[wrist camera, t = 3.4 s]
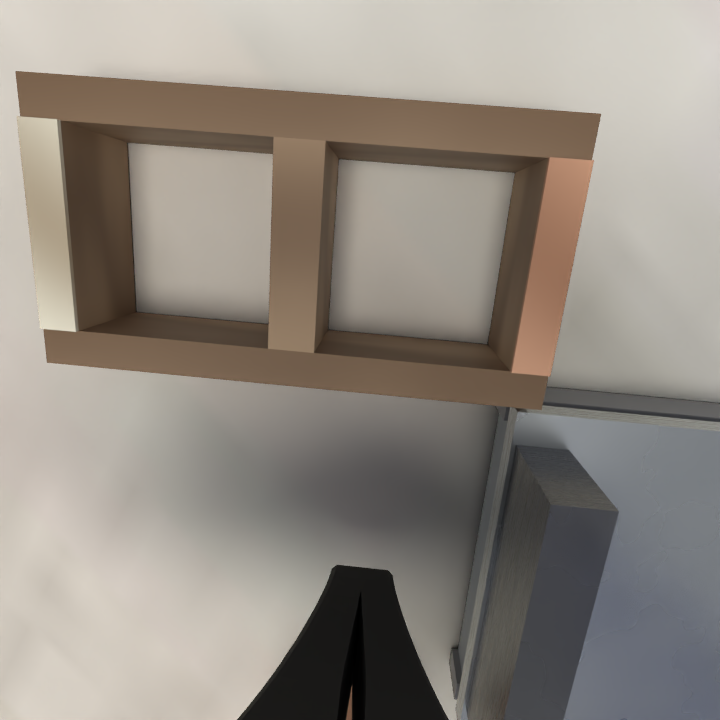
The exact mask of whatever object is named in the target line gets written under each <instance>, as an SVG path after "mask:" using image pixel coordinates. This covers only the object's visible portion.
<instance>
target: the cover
mask: <svg viewBox="0 0 720 720" xmlns="http://www.w3.org/2000/svg"><path fill="white" fill-rule="evenodd" d="M456 716H457V720H720V422H711V421H701V420H690V419H680V418H670V417H659V416H649V415H639V414H628V413H618V412H607V411H597V410H587V409H576V408H566V407H555V406H545V405H543V406H542V410H534V409H523V408H513V407H510V410H509V416H508V421H507V427H506V432H505V438H504V443H503V449H502V455H501V460H500V466H499V471H498V477H497V482H496V488H495V493H494V499H493V504H492V510H491V515H490V521H489V527H488V532H487V538H486V543H485V549H484V554H483V560H482V565H481V571H480V576H479V582H478V587H477V593H476V599H475V604H474V610H473V615H472V621H471V626H470V632H469V637H468V643H467V648H466V654H465V659H464V665H463V671H462V676H461V682H460V687H459V693H458V698H457V704H456Z"/></svg>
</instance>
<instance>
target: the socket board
mask: <svg viewBox="0 0 720 720" xmlns="http://www.w3.org/2000/svg"><path fill="white" fill-rule="evenodd" d="M16 80H17V89H18V99H19V108H20V116H17V124H18V133H19V142H20V151H21V161H22V170H23V179H24V188H25V197H26V206H27V215H28V224H29V233H30V242H31V251H32V260H33V269H34V278H35V287H36V296H37V305H38V314H39V323H40V329H44V338H45V347H46V357H47V363H58V364H68V365H78V366H89V367H99V368H109V369H120V370H130V371H140V372H151V373H161V374H171V375H182V376H192V377H202V378H213V379H223V380H234V381H244V382H254V383H265V384H275V385H285V386H296V387H306V388H316V389H327V390H337V391H347V392H358V393H368V394H379V395H389V396H399V397H410V398H420V399H430V400H441V401H451V402H461V403H472V404H482V405H492V406H503V407H513V408H523V409H534V410H542V406H543V401H544V396H545V391H546V386H547V381H548V376H550V375H551V370H552V365H553V360H554V355H555V350H556V345H557V340H558V335H559V330H560V325H561V321H562V316H563V311H564V306H565V301H566V296H567V291H568V286H569V281H570V276H571V271H572V266H573V261H574V256H575V251H576V246H577V241H578V236H579V231H580V226H581V222H582V217H583V212H584V207H585V202H586V197H587V192H588V187H589V182H590V177H591V172H592V167H593V162H594V160H592V157H593V152H594V147H595V142H596V137H597V132H598V127H599V122H600V117H601V114H596V113H582V112H568V111H555V110H541V109H527V108H514V107H500V106H486V105H473V104H459V103H445V102H431V101H418V100H404V99H390V98H377V97H363V96H349V95H336V94H322V93H308V92H294V91H281V90H267V89H253V88H240V87H226V86H212V85H199V84H185V83H171V82H157V81H144V80H130V79H116V78H103V77H89V76H75V75H62V74H48V73H34V72H21V71H16ZM127 142H128V143H141V144H154V145H167V146H180V147H192V148H205V149H218V150H231V151H244V152H256V153H269V154H273V180H272V217H271V254H270V292H269V324H259V323H248V322H237V321H226V320H215V319H204V318H193V317H183V316H172V315H161V314H150V313H139V312H136V304H135V285H134V266H133V247H132V228H131V209H130V190H129V171H128V151H127ZM339 159H346V160H359V161H372V162H384V163H397V164H410V165H423V166H436V167H448V168H461V169H474V170H487V171H500V172H512V173H515V177H514V183H513V189H512V195H511V202H510V208H509V214H508V220H507V227H506V233H505V239H504V245H503V252H502V258H501V264H500V270H499V277H498V283H497V289H496V295H495V302H494V308H493V314H492V320H491V327H490V333H489V339H488V345H487V344H477V343H466V342H455V341H444V340H433V339H422V338H411V337H400V336H389V335H379V334H368V333H357V332H346V331H335V330H328V323H329V307H330V291H331V275H332V259H333V243H334V227H335V211H336V195H337V179H338V163H339Z"/></svg>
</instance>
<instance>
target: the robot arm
mask: <svg viewBox="0 0 720 720" xmlns="http://www.w3.org/2000/svg"><path fill="white" fill-rule="evenodd" d="M351 687H352V720H448V718H447V716H446V714H445V712H444V710H443V708H442V706H441V704H440V702H439V700H438V698H437V696H436V694H435V692H434V690H433V688H432V686H431V684H430V681H429V679H428V677H427V675H426V673H425V671H424V668H423V666H422V664H421V662H420V659H419V657H418V655H417V652H416V649H415V647H414V644H413V642H412V639H411V637H410V634H409V632H408V629H407V626H406V623H405V621H404V618H403V615H402V611H401V608H400V605H399V602H398V598H397V595H396V591H395V586H394V582H393V575H392V574H391V573H390V572H389V571H388V570H380V569H371V568H362V567H352V566H343V565H336V566H335V567H333V568H332V570H331V574H330V577H329V579H328V582H327V584H326V586H325V589H324V591H323V593H322V595H321V597H320V599H319V601H318V603H317V605H316V607H315V609H314V610H313V612H312V614H311V616H310V617H309V619H308V621H307V623H306V624H305V626H304V628H303V630H302V631H301V633H300V635H299V636H298V638H297V639H296V641H295V642H294V644H293V645H292V647H291V648H290V650H289V651H288V653H287V654H286V656H285V657H284V659H283V660H282V662H281V663H280V665H279V666H278V668H277V669H276V671H275V672H274V673H273V675H272V676H271V678H270V679H269V680H268V682H267V683H266V684H265V686H264V687H263V688H262V690H261V691H260V692H259V693H258V695H257V696H256V697H255V699H254V700H253V701H252V702H251V704H250V705H249V706H248V707H247V709H246V710H245V711H244V712H243V713H242V715H241V716H240V717H239V718H238V719H237V720H346V717H347V711H348V705H349V699H350V693H351Z"/></svg>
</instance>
